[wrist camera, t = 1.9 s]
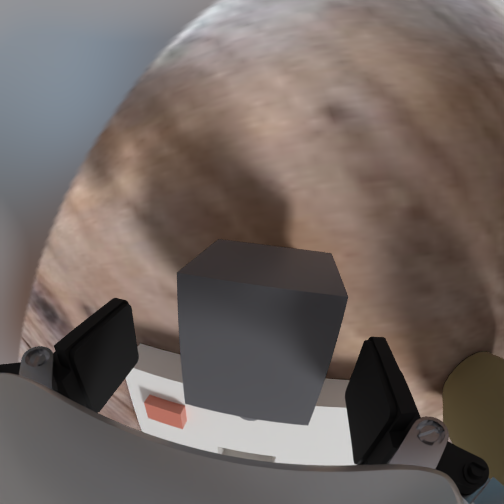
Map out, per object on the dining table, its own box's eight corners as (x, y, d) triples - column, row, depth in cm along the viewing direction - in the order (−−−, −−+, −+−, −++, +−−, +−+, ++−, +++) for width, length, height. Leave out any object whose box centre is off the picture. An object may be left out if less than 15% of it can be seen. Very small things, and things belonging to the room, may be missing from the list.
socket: (387, 380, 17) (398, 416, 14) (322, 485, 23) (321, 510, 19) (140, 343, 20) (115, 371, 16) (167, 459, 26) (156, 481, 22)
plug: (232, 228, 16) (177, 272, 9) (326, 240, 15) (348, 296, 8) (225, 350, 19) (188, 431, 11) (302, 362, 18) (297, 451, 11)
